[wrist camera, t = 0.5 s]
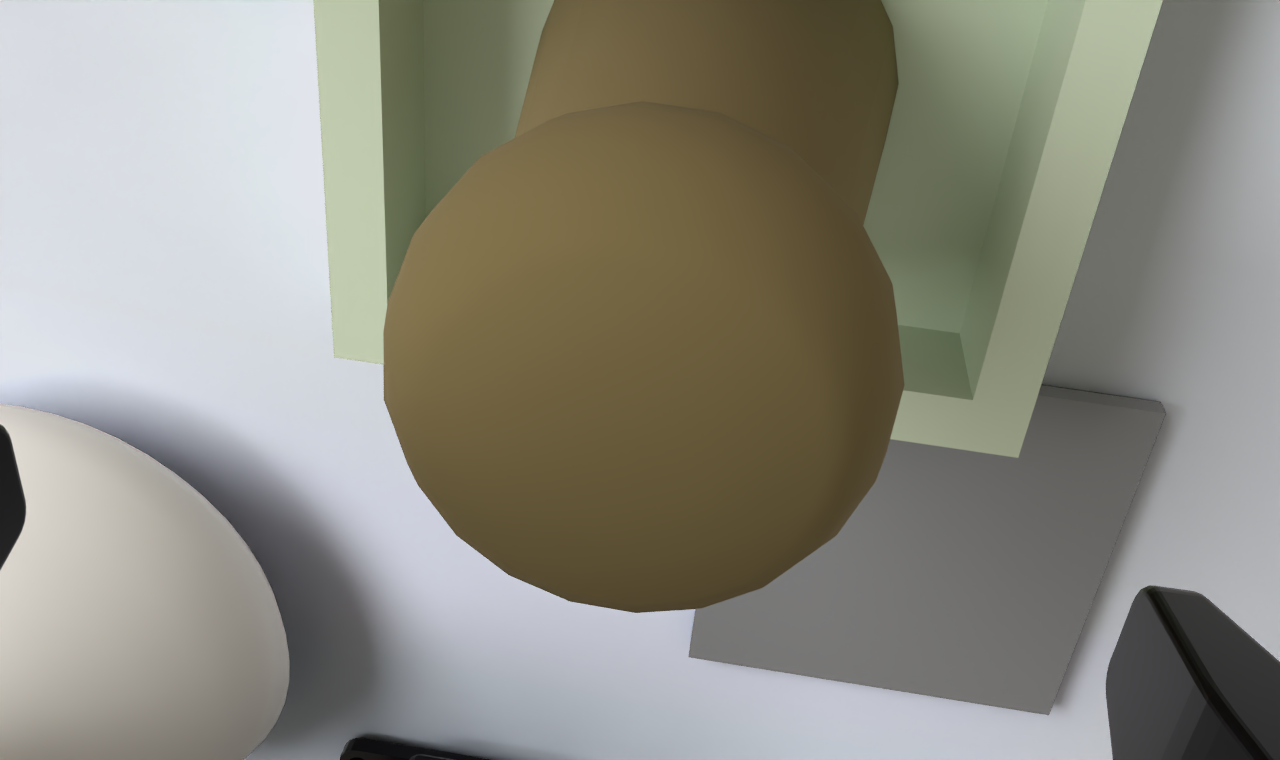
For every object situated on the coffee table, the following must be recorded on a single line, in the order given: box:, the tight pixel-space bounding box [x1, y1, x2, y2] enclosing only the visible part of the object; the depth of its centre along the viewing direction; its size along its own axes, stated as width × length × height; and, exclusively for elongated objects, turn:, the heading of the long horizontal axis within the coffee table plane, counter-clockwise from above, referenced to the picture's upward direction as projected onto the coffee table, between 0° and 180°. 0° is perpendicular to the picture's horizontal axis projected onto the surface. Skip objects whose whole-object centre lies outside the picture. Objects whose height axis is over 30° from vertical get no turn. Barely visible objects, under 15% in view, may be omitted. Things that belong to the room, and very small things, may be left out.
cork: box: [383, 0, 905, 613], centre depth 15 cm, size 6×6×11 cm
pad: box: [689, 385, 1166, 715], centre depth 24 cm, size 8×8×1 cm
